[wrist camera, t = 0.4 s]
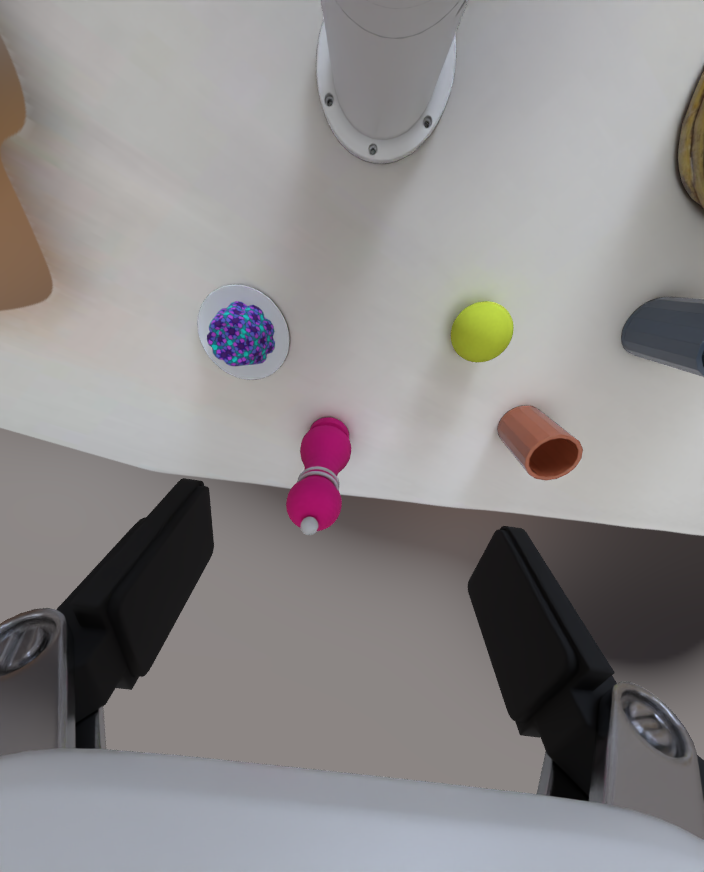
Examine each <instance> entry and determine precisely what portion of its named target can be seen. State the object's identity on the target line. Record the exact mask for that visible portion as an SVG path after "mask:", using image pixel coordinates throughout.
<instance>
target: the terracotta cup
mask: <svg viewBox="0 0 704 872" xmlns="http://www.w3.org/2000/svg"><path fill="white" fill-rule="evenodd" d="M497 430H498V435H499V437H500V439H501V440H502V442H503V443H504V444H505V446H506V447H507V448H508V449H509V450H510V452H511V453H512V454H513V455H514V457H515V458H516V459H517V460H518V462H519V463H520V464H521V465H522V466H523V468H524V469H525V470H526V471H527V473H528V474H529V475H531V476H532V477H534V478H536V479H541V480H551V479H557V478H559V477H562V476H564V475H566V474H568V473H569V472H570V471H571V470H573V469H574V468H575V467H576V466H577V464H578V463H579V461H580V460H581V458H582V452H583V449H582V446H581V444H580V442H579V441H578V440H577V439H576V438H575V437H573V436H572V435H571V434H569V433H568V432H567V431H566V430H564V429H563V428H562V427H561V426H559V425H558V424H557V423H555V422H554V421H553V420H552V419H550V418H549V417H548V416H547V415H545V414H544V413H543V412H541V411H540V410H539V409H537V408H535V407H533V406H519V407H516V408H513V409H511V410H510V411H508V412H507V413H506V414H505V415H504V416H503V417H502V418H501V420H500V422H499V424H498V429H497Z"/></svg>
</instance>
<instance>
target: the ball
mask: <svg viewBox="0 0 704 872" xmlns="http://www.w3.org/2000/svg"><path fill="white" fill-rule="evenodd" d="M512 335H513V321H512V318H511V316H510V314H509V312H508V311H507V310H506V309H505V308H504V307H503V306H501V305H499V304H497V303H494V302H488V301H485V302H478V303H475V304H472V305H470V306H468V307H467V308H465V309H464V310H463V311H462V312H461V313H460V314H459V315H458V316H457V318H456V319H455V321H454V323H453V326H452V329H451V342H452V346H453V348H454V350H455V351H456V352H457V354H458V355H459V356H461V357H462V358H464V359H465V360H468V361H471V362H485V361H489V360H491V359H493V358H495V357H497V356H498V355H500V354H501V353H502V352H503V351H504V350H505V349H506V348H507V346H508V345H509V343H510V341H511V338H512Z"/></svg>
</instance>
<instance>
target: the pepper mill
mask: <svg viewBox="0 0 704 872" xmlns="http://www.w3.org/2000/svg"><path fill="white" fill-rule="evenodd" d="M300 453H301V459H302V461H303V464H304V466H305V470H304V471H303V472H302V473H301V474H300V475H299V478H298V481H297V483H296V484H295V485H294V486H293V487H292V488H291V490H290V492H289V494H288V498H287V503H286V506H287V512H288V515H289V517H290V519H291V520H292V522H293V523H294V524H295V525H297V526H298V527H300V528H301V530H302V532H303V533H304V534H306V535H312V534H314V533H315V532H316V531H320V530H323V529H326V528H328V527H329V526H331V525H332V524H333V523H334V522H335V521H336V519H337V518H338V516H339V514H340V510H341V504H342V503H341V502H342V501H341V496H340V493H339V480H338V478H337V474H338V473H339V472H340V471H341V470H342V469H343V468H344V467H345V466H346V464H347V463H348V461H349V459H350V455H351V444H350V441H349V432H348V429H347V427H346V426H345V425H344V424H343V423H342V422H341V421H340V420H338V419H335V418H331V417H325V418H321V419H319V420H317V421H315V422H314V423H313V424H312V426H311V428H310V430H309V431H308V432H307V433H306V435H305V436H304V438H303V440H302V443H301V448H300Z"/></svg>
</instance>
